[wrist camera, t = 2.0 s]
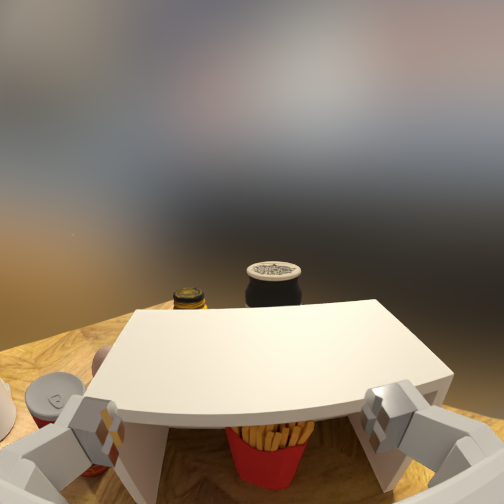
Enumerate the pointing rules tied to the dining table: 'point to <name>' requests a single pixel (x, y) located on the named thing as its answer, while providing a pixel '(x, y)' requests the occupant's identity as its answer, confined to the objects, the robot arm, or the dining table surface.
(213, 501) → the dining table surface
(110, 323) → the dining table surface
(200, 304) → the condiment
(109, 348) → the egg
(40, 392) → the canned food
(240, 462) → the french fries
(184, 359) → the white step stool
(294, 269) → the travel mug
